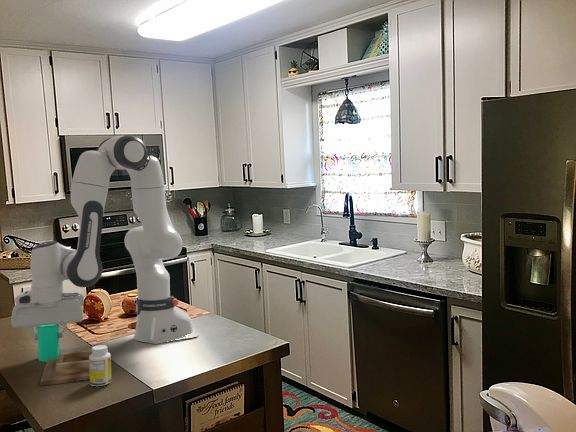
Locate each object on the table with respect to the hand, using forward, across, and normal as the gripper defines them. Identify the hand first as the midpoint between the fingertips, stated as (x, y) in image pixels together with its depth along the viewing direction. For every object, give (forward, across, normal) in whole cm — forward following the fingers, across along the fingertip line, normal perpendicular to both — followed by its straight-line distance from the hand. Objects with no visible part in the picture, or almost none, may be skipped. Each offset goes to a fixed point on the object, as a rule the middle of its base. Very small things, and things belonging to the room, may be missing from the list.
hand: (49, 338), depth 161 cm
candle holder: (+6, -9, +14) cm, 18 cm away
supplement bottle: (+6, -15, +27) cm, 32 cm away
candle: (+6, 0, 0) cm, 7 cm away
